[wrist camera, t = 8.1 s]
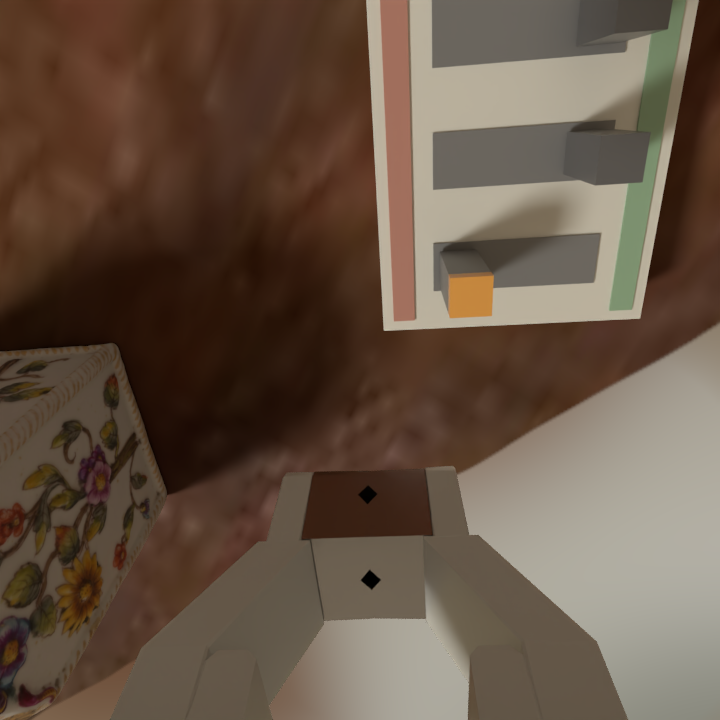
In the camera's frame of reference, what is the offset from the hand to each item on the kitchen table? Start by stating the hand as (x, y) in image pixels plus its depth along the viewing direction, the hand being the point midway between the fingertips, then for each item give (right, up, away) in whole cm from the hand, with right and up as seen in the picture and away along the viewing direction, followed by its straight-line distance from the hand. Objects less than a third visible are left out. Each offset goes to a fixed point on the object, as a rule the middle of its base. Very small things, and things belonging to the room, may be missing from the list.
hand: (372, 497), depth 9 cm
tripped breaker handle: (+4, +7, +14) cm, 16 cm away
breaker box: (+6, +12, +14) cm, 20 cm away
